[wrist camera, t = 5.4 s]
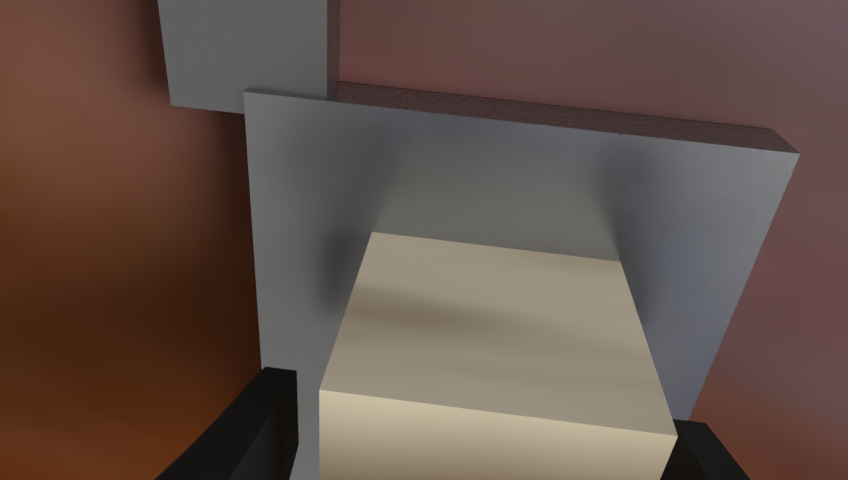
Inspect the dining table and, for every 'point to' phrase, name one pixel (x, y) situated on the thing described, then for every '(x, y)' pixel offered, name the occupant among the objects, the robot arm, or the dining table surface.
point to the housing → (490, 370)
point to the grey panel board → (465, 188)
